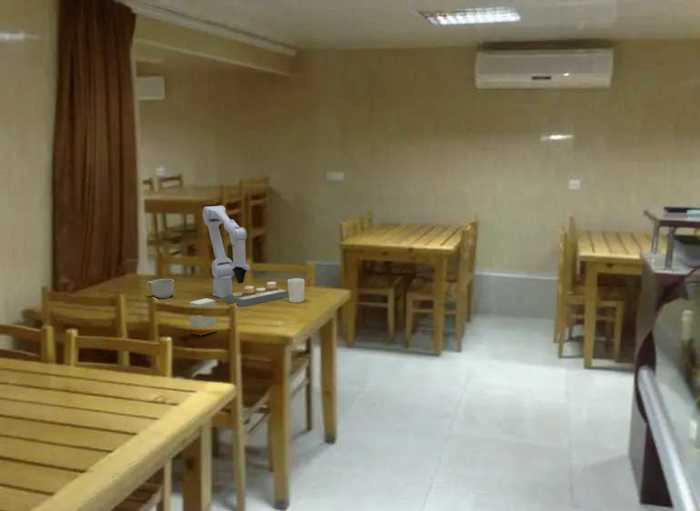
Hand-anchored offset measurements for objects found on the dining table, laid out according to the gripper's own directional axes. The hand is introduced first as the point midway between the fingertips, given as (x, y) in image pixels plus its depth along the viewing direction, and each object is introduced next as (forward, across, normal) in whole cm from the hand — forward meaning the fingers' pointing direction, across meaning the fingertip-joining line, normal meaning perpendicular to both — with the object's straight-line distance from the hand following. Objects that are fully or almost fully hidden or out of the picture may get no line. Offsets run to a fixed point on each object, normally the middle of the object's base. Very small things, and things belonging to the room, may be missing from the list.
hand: (240, 283), depth 308 cm
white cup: (+9, +17, +20) cm, 27 cm away
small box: (+9, +33, -38) cm, 52 cm away
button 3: (+9, -1, +12) cm, 15 cm away
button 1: (+9, -1, -1) cm, 9 cm away
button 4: (+7, -1, +18) cm, 19 cm away
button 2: (+7, -1, +5) cm, 9 cm away
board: (+9, +1, +8) cm, 12 cm away
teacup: (+9, -38, -22) cm, 45 cm away
